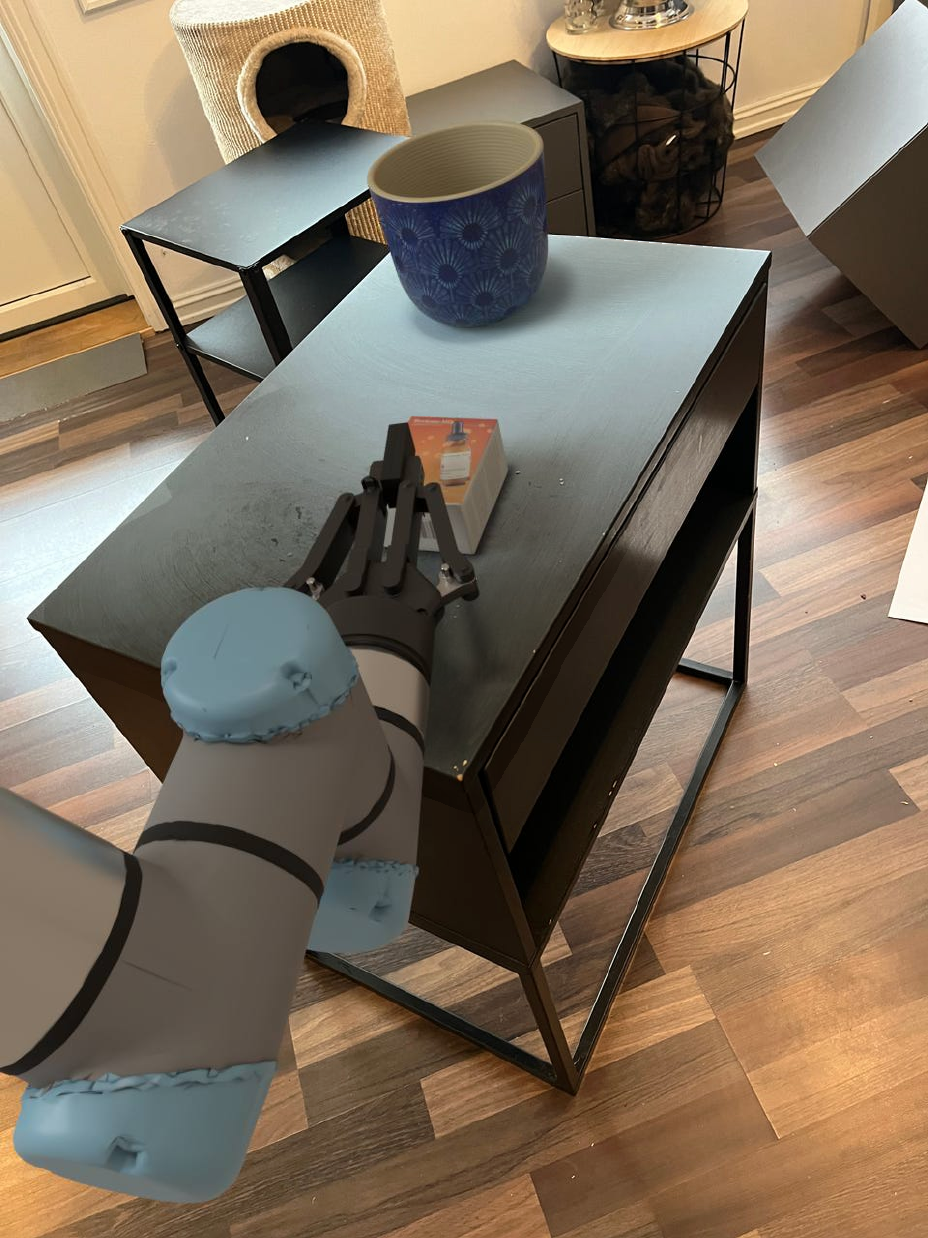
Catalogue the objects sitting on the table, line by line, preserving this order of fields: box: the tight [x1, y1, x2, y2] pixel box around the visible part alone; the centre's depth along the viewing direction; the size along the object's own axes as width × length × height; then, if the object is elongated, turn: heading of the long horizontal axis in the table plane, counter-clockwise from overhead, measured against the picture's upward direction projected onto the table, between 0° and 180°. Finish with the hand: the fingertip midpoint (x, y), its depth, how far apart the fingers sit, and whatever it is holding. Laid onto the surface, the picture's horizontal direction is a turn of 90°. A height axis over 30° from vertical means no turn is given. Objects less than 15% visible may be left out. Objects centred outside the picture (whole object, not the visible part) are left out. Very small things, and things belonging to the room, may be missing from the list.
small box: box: [383, 415, 509, 555], centre depth 75 cm, size 8×6×10 cm
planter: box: [366, 119, 549, 328], centre depth 93 cm, size 17×17×15 cm
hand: (402, 437), depth 71 cm, fingers closed
